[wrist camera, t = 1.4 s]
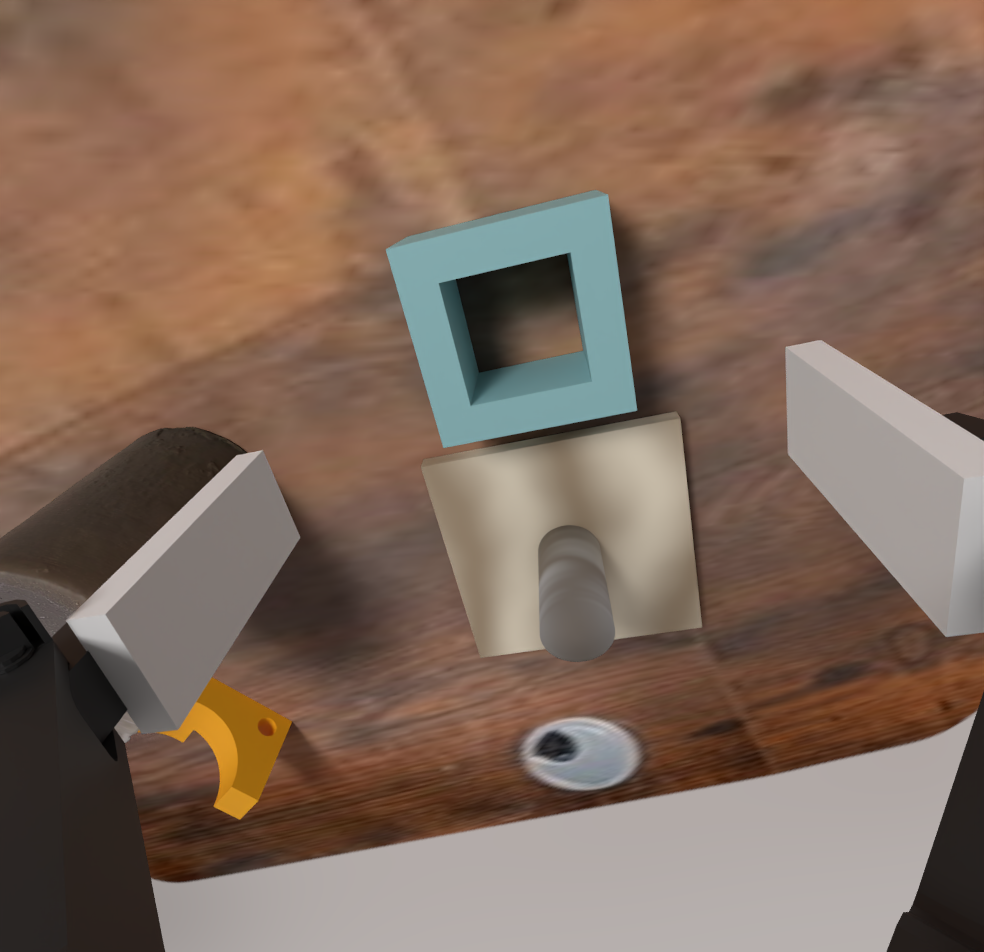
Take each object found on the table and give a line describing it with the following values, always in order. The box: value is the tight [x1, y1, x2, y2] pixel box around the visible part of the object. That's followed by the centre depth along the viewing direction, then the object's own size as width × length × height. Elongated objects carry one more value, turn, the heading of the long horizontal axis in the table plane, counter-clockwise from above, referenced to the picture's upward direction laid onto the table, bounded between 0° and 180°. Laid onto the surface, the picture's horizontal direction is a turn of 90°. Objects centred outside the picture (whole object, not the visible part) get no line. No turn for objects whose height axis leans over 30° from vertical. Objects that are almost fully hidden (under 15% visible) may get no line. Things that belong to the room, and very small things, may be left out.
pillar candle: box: [0, 427, 246, 743], centre depth 30 cm, size 10×10×15 cm
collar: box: [386, 190, 637, 448], centre depth 28 cm, size 9×9×5 cm
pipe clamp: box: [138, 678, 292, 820], centre depth 42 cm, size 12×4×6 cm, turn 52°
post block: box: [421, 412, 702, 662], centre depth 33 cm, size 14×14×8 cm
